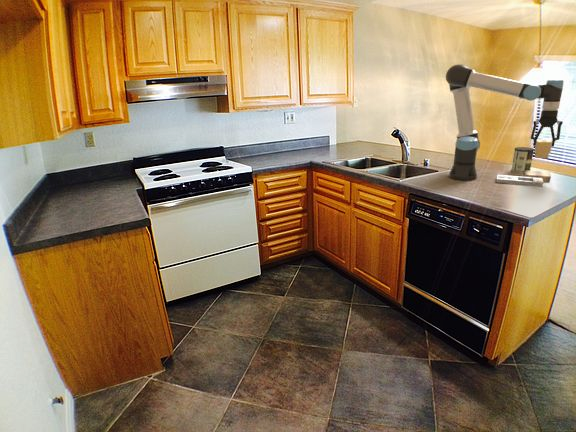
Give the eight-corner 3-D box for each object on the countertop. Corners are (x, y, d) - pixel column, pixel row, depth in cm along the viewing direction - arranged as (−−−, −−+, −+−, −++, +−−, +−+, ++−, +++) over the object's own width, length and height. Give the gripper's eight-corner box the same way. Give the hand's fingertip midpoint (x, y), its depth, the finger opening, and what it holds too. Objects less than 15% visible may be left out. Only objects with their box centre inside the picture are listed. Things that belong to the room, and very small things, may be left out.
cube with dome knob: (535, 157, 211) (538, 141, 208) (534, 155, 216) (537, 139, 213) (547, 158, 208) (551, 141, 205) (547, 156, 213) (550, 140, 210)
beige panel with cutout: (496, 182, 211) (496, 178, 210) (496, 177, 220) (497, 174, 219) (542, 186, 201) (543, 182, 200) (541, 181, 210) (542, 177, 209)
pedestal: (524, 179, 214) (525, 174, 213) (524, 175, 224) (525, 170, 223) (549, 181, 208) (550, 176, 207) (548, 176, 218) (549, 171, 217)
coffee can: (526, 169, 237) (530, 147, 233) (532, 172, 228) (537, 149, 223) (508, 169, 240) (512, 147, 235) (514, 172, 230) (518, 149, 225)
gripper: (529, 110, 205) (522, 152, 212) (572, 110, 195) (563, 154, 203) (529, 109, 211) (522, 150, 218) (570, 109, 202) (561, 151, 209)
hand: (542, 152), depth 211 cm, fingers closed on cube with dome knob, 6 cm apart
